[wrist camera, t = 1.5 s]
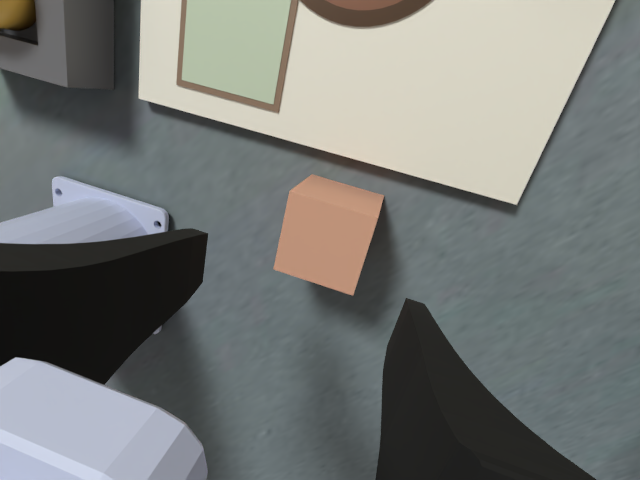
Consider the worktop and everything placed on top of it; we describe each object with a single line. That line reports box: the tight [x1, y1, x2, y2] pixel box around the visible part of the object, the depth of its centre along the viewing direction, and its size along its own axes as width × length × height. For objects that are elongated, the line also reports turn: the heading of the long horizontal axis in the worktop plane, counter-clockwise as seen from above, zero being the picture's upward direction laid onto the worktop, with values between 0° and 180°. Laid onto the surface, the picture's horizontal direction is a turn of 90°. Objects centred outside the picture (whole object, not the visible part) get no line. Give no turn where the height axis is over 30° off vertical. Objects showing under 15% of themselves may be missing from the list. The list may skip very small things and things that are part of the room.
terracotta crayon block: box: [274, 175, 384, 296], centre depth 18 cm, size 4×4×4 cm
